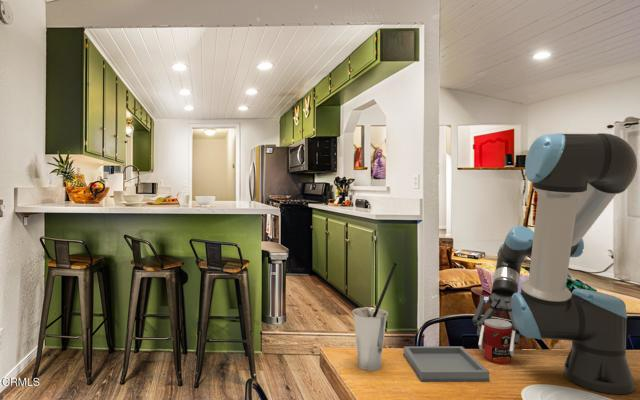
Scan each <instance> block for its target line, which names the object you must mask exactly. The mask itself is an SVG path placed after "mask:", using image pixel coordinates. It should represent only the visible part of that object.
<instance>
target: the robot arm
mask: <svg viewBox="0 0 640 400" xmlns="http://www.w3.org/2000/svg"><path fill="white" fill-rule="evenodd" d="M637 169H638V159H637V155H636V153H635V151H634V149H633V147H632V146H631V145H630V143H628V142H627V141H626V140H625V139H623V138H621V137H620V136H617V135H615V134H611V133H603V132H602V133H600V132H599V133H561V132H560V133H550V134H542V135H540V136H538V137H537V138H536V139H534V141H533V142H532V143H531V145H530V147H529V148H528V152H527V154H526V158H525V163H524V170H525V171H524V172H525V176H526V179H527V180H528V181H529V182H531V183H532V184H531V186H532V187H531V188H532V189H533V190H534V191H535V192H536V193H537V194H538V195H537V201H536V202H537V203H536V212H535V219H534V229H533V230H532V229H531V228H529V227H526V226H524V225H515V226H513V227H511V229H510V230H509V231H508V232H507V235H506V236H505V239H504V242H503V244H501V245H500V246H499V248H498V252H497V255H496V256H497V259H496V265H495V270H494V275H493V282H492V287H491V292H490V294H489V295H488V296H484V295H483V294H481V295H480V296H479V303H478V305H477V307H476V310H475V313H474V314H473V317H472V322H473V325H474V327H475V326H476V327H477V329H476V336H477V338H479V339H478V348H479V350H484V321H485V320H486V319H492V317H493V316H494V314H496V313H497V312H503V313H508V315H509V318H510V322H511V324H512V328H513V329H514V330H513V329H512V336H511V344H510V355H511V356H512V357H514V354H515V353H514V352H515V346H516V345H517V346H518V345H519V344H520V340H521V339H520V337H521V336H523V337H525V338H529V339H537V340H557V341H559V340H560V341H571V348H570V350H569V352H568V355H567V358H566V360H565V363H564V364H563V375H564V377H565V378H566V379H567V380H569V381H570V382H571V383H573V384H575V385H577V386H579V387H582V388H585V389H586V390H587V389H588V390H591V391H595V392H598V393H605V394H610V395H611V394H612V395H628V394H631V393H633V392H634V390H635V381H634V380H635V379H634V377H633V374H632V372H631V368H630V365H629V363H628V360H627V355H626V353H627V351H626V350H627V319H628V315H627V307H626V306H627V305H626V303H625V301H624V300H622V299H621V298H619V297H617V296H615V295H612V294H611V295H610V294H607V293H604V292H601V291H596V290H590V289H583V288H574V289H573V290H572V292H571V291H570V289H568V288H567V282H568V281H567V280H568V274H569V265H570V258H579V257H580V256H581V255H582V254H583V252H584V251H583V250H584V249H585V243H584V239H583V237H584V236H585V235H586V234H587V232H588V231H589V230H590V229H591V228H592V226H593V225H594V224H595V222H596V221H597V220H598V219H599V217H600V216H601V215H602V213H603V212H604V211H605V209H606V208H607V207H608V206H609V204H610V203H611V202H612V201H613V199H614V198H615V196H616V195H617V194H622V193H624V192H625V191H626V190H627V189H628V187H629V186H630V185H631V183H633V181H634V179H635V176H636V174H637ZM526 257H530V265H529V274H528V280H526V281H524V282H522V284H521V287H520V292H519V286H520V285H519V284H520V277H521V276H520V275H521V269H522V265H523V263H524V261H525V259H526ZM488 302H489V303H490V305H489V307H488V309H487V310H486V311H485V312H484V310H485V308H486V305H487V304H488ZM483 312H484V314H483Z"/></svg>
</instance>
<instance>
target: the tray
mask: <svg viewBox="0 0 640 400" xmlns="http://www.w3.org/2000/svg"><path fill="white" fill-rule="evenodd" d="M403 356H404V358H405V359H406V361H407V362H408V364H409V365H410V367H411V369H412V370H413V371H414V373H415V374H416V377H417V378H418V379H419V381H420V382H421V383H436V382H437V383H438V382H439V383H440V382H442V383H446V382H447V383H448V382H449V383H451V382H453V383H454V382H458V383H460V382H461V383H463V382H464V383H465V382H467V383H468V382H481V383H482V382H490V371H489V370H488V369H487V368H486V367H485V366H484V365H483V364H481V363H480V362H479V361H478V360H477V359H476V358H475V357H474V355H472V354H471V353H469V351H467V350H466V349H465V347H464V346H453V345H452V346H450V345H449V346H448V345H447V346H443V345H442V346H440V345H439V346H434V345H433V346H428V345H427V346H403Z"/></svg>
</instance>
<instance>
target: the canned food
mask: <svg viewBox="0 0 640 400" xmlns="http://www.w3.org/2000/svg"><path fill="white" fill-rule="evenodd" d="M512 330H513V324H512V322H511V321H508V320H506V319H501V318H500V319H498V318H490V319H486V320H485V321H484V343H483V357H484V360H486V361H488V362H489V361H490V362H489V363H492V364H496V365H508V364H511V362H512V360H513V356H511V355H510V344H511V336H512Z"/></svg>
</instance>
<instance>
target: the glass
mask: <svg viewBox="0 0 640 400" xmlns="http://www.w3.org/2000/svg"><path fill="white" fill-rule="evenodd" d="M397 265H398V264H397V263H395V262H394V263H393V264H392V267H391V270H390V272H389V274H388V277H387V279H386V282H385V284H384V287H383V290H382V291H381V295H380V297H379V299H378V302H377V304H376V307H369V306H368V307H357V308H354V309H353V310H352V312H351V313H352V314H353V320H354V332H355V342H356V343H355V344H356V355H357V367H358V368H359V369H360V368H361V370H362V369H363V371H366V370H367V371H366V372H376V371H379V370H380V369H381V368H382V359H383V358H382V357H383V347H384V342H385V334H386V333H385V331H386V323H387V316H388V315H389V311H387V310H385V309H382V308H381V305H382V303H383V301H384V297H385V295H386V293H387V290H388V287H389V286H390V283H391V280H392V277H393V275H394V273H395V270H396V268H397Z"/></svg>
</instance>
